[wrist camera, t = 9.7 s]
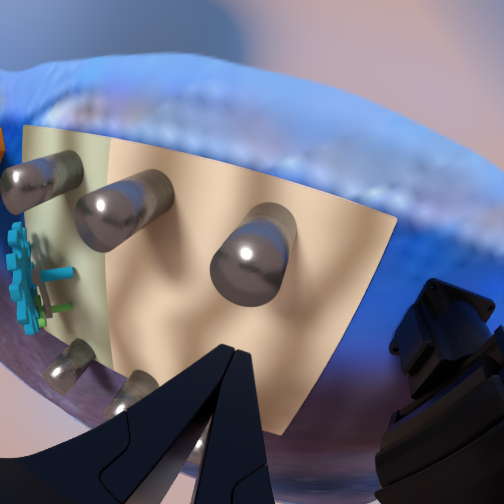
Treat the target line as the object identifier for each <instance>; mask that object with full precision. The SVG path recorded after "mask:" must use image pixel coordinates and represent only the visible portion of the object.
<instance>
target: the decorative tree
mask: <svg viewBox="0 0 504 504" xmlns="http://www.w3.org/2000/svg"><path fill="white" fill-rule="evenodd" d="M4 153H5V146H4V140H3V133H2V129H1V127H0V163H1V160H2V158H3V155H4Z"/></svg>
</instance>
